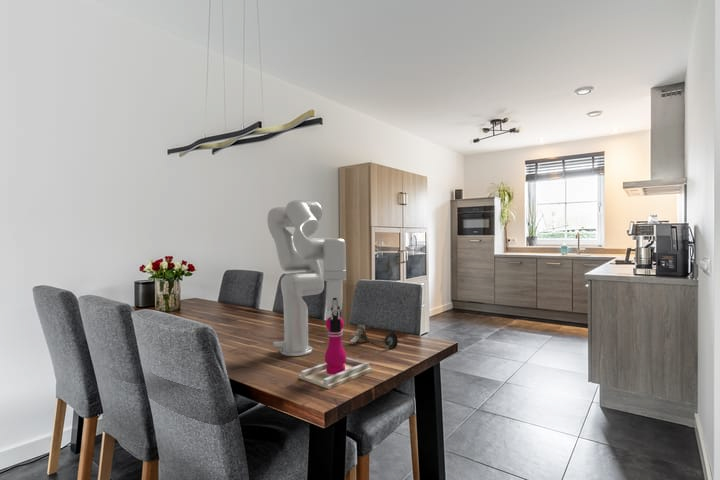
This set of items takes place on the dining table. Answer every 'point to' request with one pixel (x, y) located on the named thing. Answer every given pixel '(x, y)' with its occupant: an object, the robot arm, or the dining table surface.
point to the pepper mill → (335, 350)
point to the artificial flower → (389, 340)
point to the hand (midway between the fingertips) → (335, 328)
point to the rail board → (329, 381)
